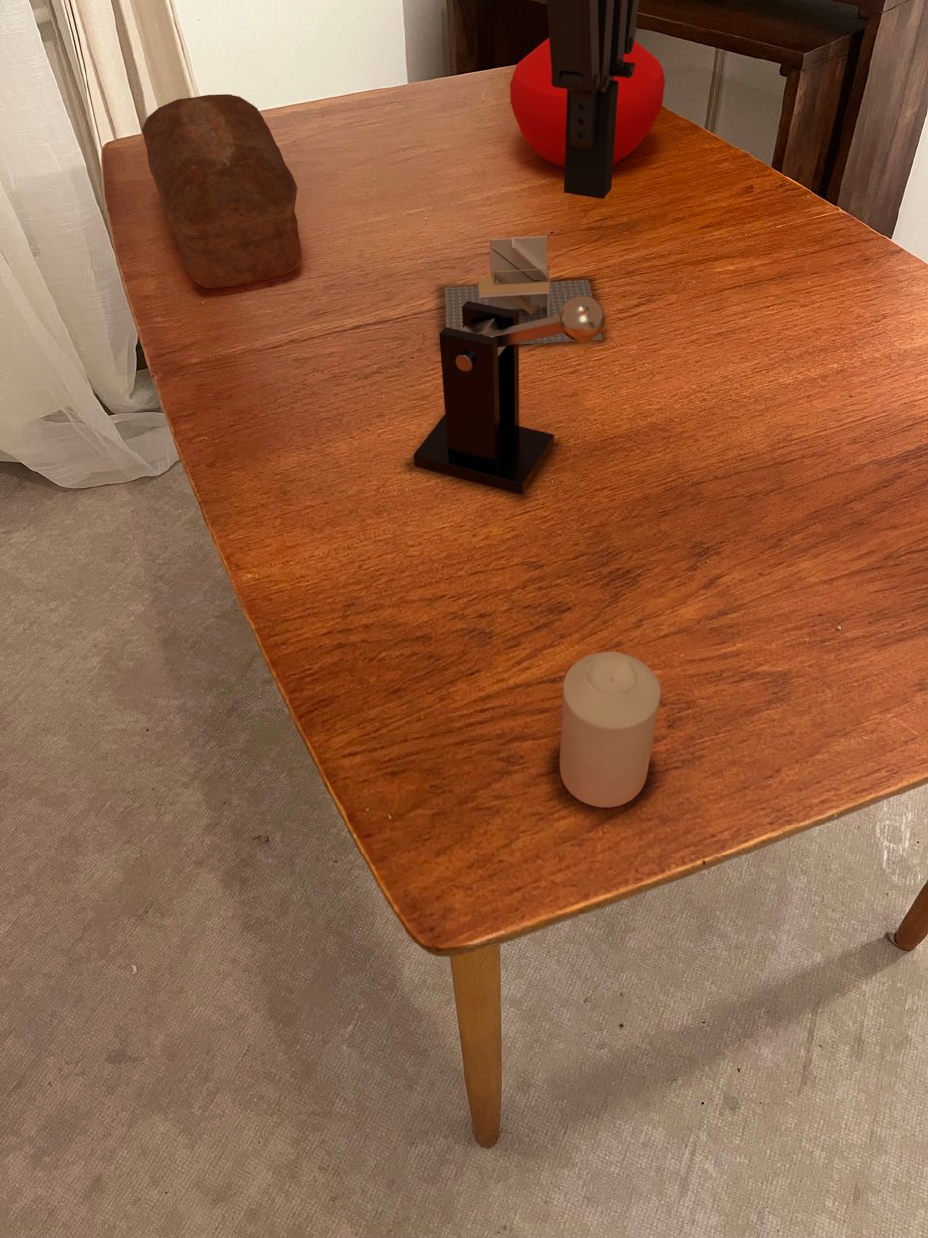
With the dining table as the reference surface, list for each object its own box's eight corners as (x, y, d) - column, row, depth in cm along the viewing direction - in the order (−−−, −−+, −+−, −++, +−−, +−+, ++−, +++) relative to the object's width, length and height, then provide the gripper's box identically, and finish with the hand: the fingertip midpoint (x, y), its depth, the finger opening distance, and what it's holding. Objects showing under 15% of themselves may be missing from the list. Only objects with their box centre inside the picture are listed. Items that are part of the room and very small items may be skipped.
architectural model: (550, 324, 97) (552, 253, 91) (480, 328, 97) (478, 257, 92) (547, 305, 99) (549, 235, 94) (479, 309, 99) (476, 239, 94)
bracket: (554, 445, 84) (557, 311, 75) (522, 495, 80) (522, 360, 71) (449, 419, 87) (440, 287, 78) (414, 465, 83) (399, 332, 74)
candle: (657, 800, 61) (676, 703, 53) (570, 815, 60) (577, 719, 53) (632, 729, 64) (647, 628, 57) (550, 742, 64) (554, 643, 56)
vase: (485, 144, 126) (480, -28, 112) (606, 112, 131) (616, -57, 116) (558, 200, 115) (562, 16, 100) (688, 162, 120) (710, -18, 105)
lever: (616, 322, 71) (601, 282, 69) (601, 345, 69) (585, 305, 67) (482, 353, 78) (465, 317, 77) (465, 374, 76) (447, 338, 75)
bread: (267, 174, 123) (246, 68, 114) (319, 280, 105) (300, 164, 96) (156, 195, 120) (126, 89, 111) (190, 308, 102) (158, 191, 93)
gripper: (586, -326, 51) (569, 142, 68) (482, -290, 43) (493, 226, 61) (729, -328, 48) (674, 157, 66) (646, -290, 41) (608, 247, 58)
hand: (587, 190), depth 63 cm, fingers closed
